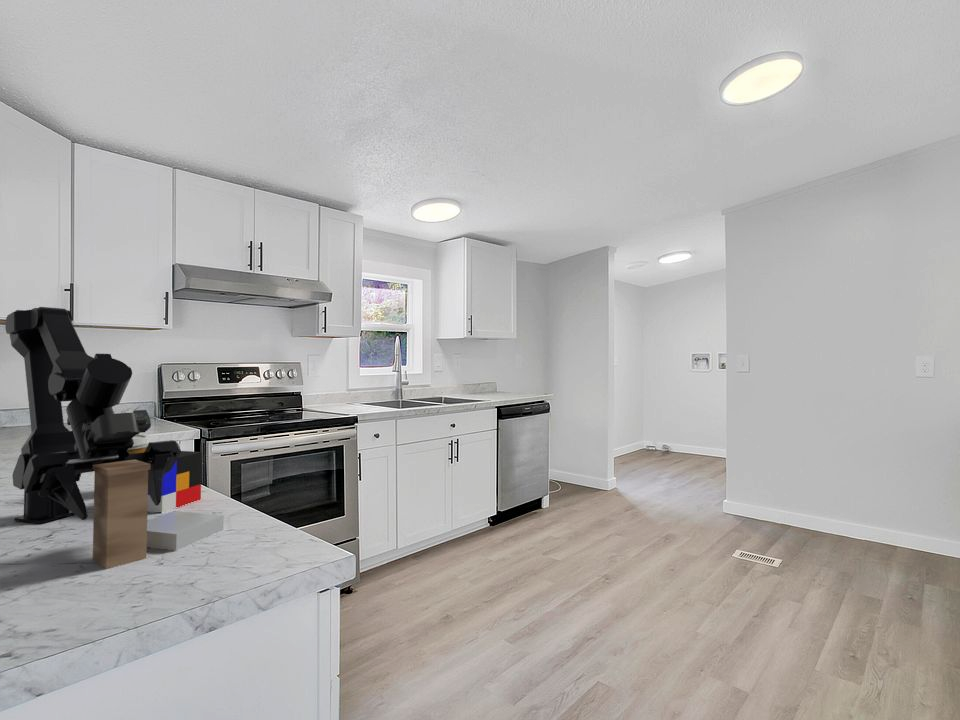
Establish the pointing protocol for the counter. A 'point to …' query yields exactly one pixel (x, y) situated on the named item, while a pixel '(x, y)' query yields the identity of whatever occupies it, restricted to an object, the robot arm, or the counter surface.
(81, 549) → the counter surface
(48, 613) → the counter surface
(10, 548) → the counter surface
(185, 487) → the puzzle toy
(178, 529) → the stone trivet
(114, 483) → the walnut canister
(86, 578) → the counter surface
